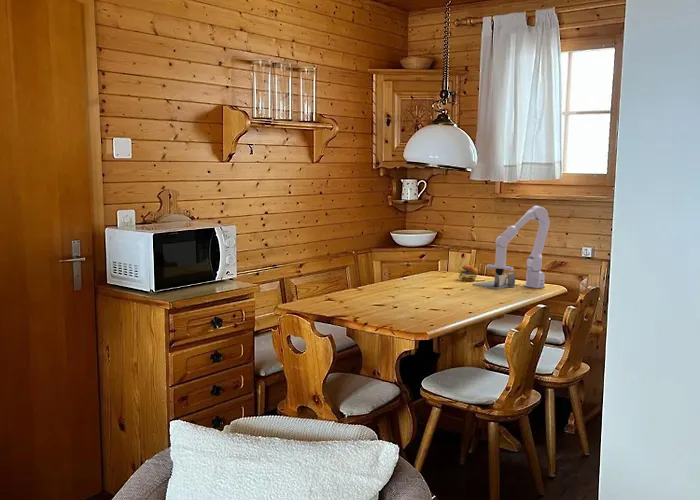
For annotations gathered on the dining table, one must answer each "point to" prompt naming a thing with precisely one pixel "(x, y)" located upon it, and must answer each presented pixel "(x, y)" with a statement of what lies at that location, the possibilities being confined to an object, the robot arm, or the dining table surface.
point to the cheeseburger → (468, 276)
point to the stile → (511, 279)
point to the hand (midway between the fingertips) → (498, 282)
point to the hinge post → (496, 281)
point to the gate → (502, 279)
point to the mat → (492, 285)
